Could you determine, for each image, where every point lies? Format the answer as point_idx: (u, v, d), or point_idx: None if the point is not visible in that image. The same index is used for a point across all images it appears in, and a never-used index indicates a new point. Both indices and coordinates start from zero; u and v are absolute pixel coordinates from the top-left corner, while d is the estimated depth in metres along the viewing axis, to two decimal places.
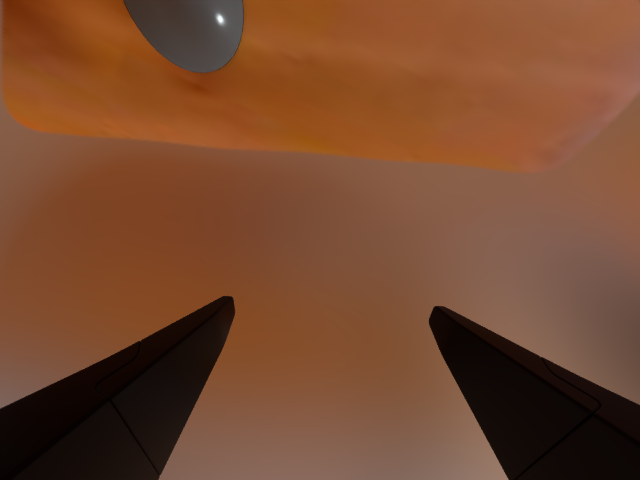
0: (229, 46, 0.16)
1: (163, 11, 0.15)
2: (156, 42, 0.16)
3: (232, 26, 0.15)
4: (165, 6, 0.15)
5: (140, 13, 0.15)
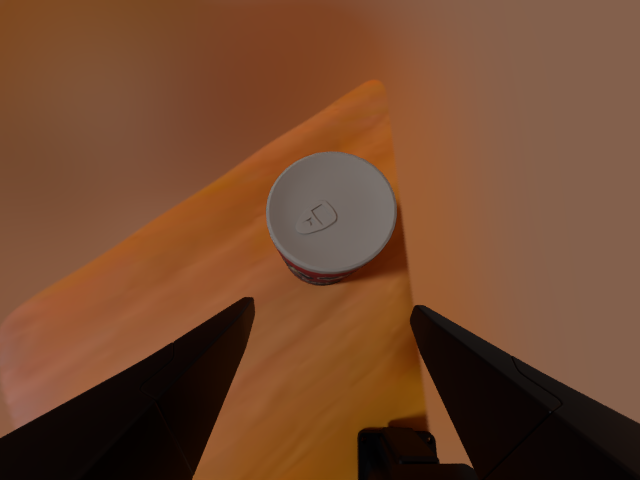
0: None
1: None
2: None
3: None
4: None
5: None
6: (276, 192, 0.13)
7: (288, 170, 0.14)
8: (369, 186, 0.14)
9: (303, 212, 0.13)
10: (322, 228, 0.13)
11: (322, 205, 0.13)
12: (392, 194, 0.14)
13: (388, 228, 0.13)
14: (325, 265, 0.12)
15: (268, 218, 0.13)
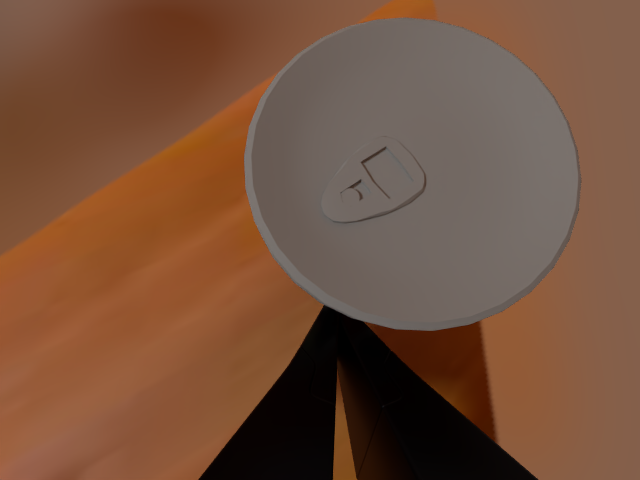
0: None
1: None
2: None
3: None
4: None
5: None
6: (272, 111, 0.05)
7: (303, 57, 0.05)
8: (502, 106, 0.06)
9: (341, 166, 0.05)
10: (390, 207, 0.05)
11: (389, 148, 0.05)
12: (567, 125, 0.05)
13: (564, 212, 0.05)
14: (405, 312, 0.04)
15: (250, 179, 0.05)
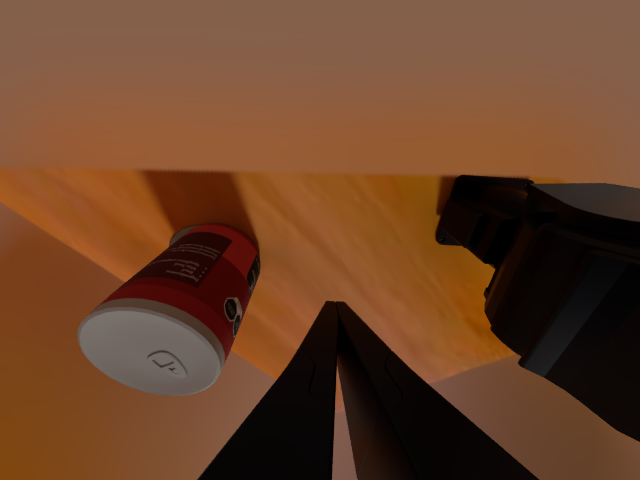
0: None
1: None
2: None
3: None
4: None
5: None
6: (147, 389, 0.14)
7: (120, 381, 0.14)
8: (116, 321, 0.12)
9: (164, 371, 0.14)
10: (178, 360, 0.14)
11: (152, 359, 0.13)
12: (120, 309, 0.11)
13: (167, 320, 0.12)
14: (214, 368, 0.13)
15: None
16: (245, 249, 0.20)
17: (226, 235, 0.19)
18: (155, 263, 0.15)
